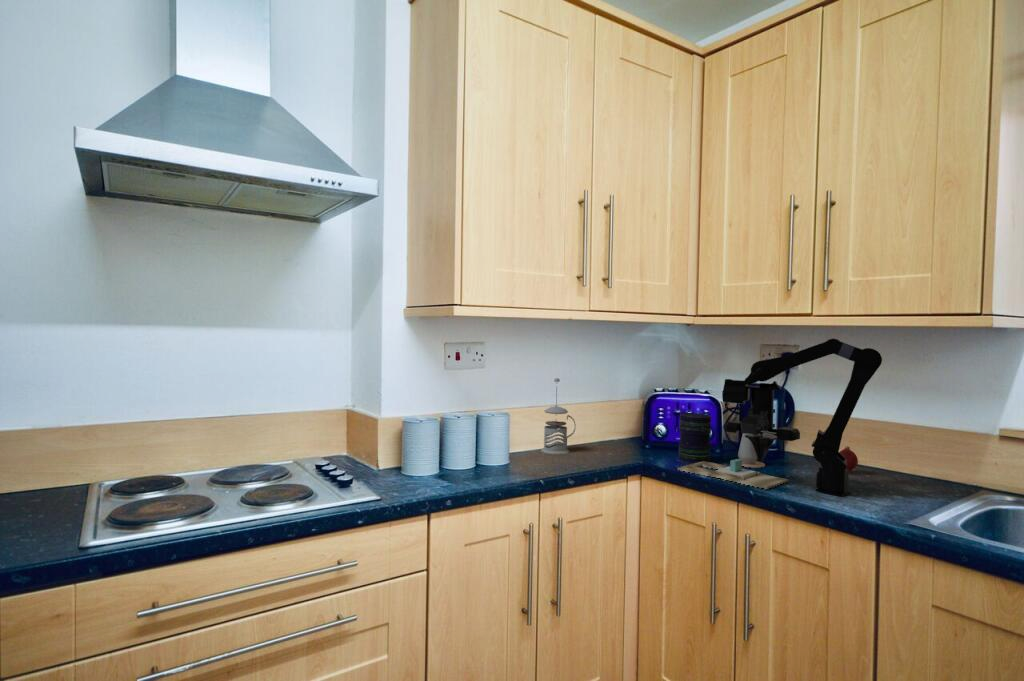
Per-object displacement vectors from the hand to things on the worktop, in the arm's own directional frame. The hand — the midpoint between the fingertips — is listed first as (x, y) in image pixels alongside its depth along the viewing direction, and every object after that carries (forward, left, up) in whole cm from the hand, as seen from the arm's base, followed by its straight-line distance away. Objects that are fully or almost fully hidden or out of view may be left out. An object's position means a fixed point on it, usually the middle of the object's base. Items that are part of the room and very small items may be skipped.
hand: (760, 461), depth 161 cm
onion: (-11, -33, -6) cm, 36 cm away
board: (+8, 0, -6) cm, 10 cm away
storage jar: (+26, -9, -6) cm, 28 cm away
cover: (+7, 0, -5) cm, 9 cm away
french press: (+63, +16, -6) cm, 65 cm away
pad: (+13, -19, -6) cm, 24 cm away
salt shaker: (+13, -19, -6) cm, 24 cm away
